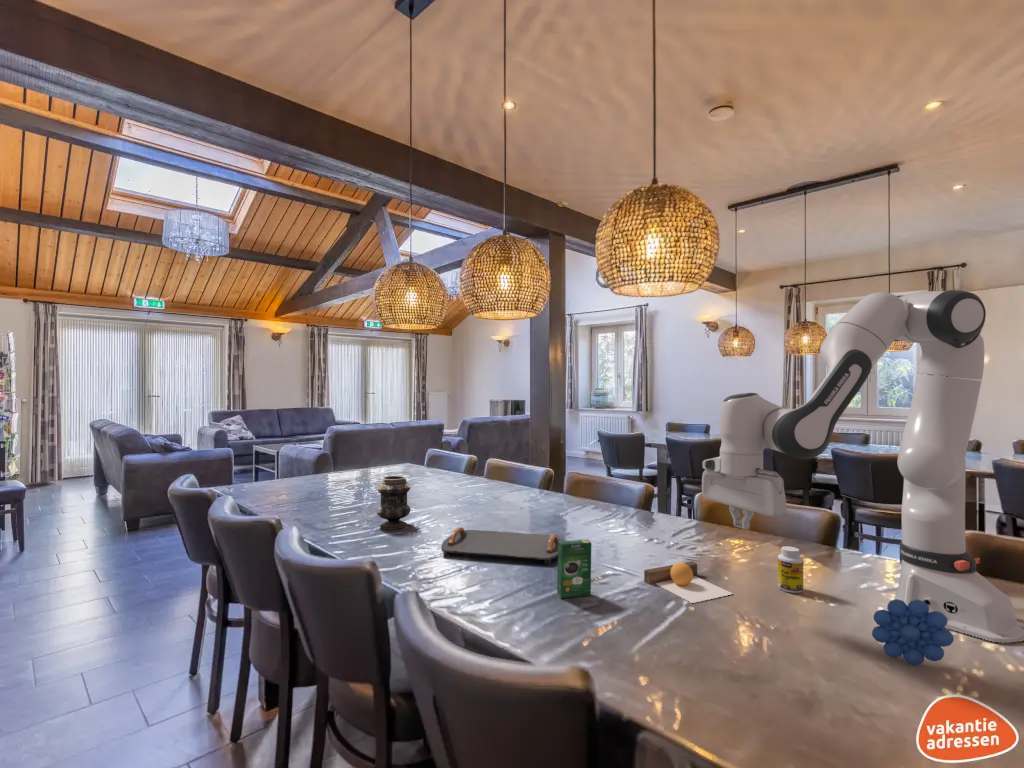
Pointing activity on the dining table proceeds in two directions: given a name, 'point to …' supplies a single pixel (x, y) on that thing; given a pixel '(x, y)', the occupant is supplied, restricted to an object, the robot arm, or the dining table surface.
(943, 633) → the blue bumpy cluster
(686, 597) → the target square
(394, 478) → the apothecary jar
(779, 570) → the supplement bottle
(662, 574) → the stop rail
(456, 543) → the serving board
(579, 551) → the coffee box
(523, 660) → the dining table surface
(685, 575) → the ball
